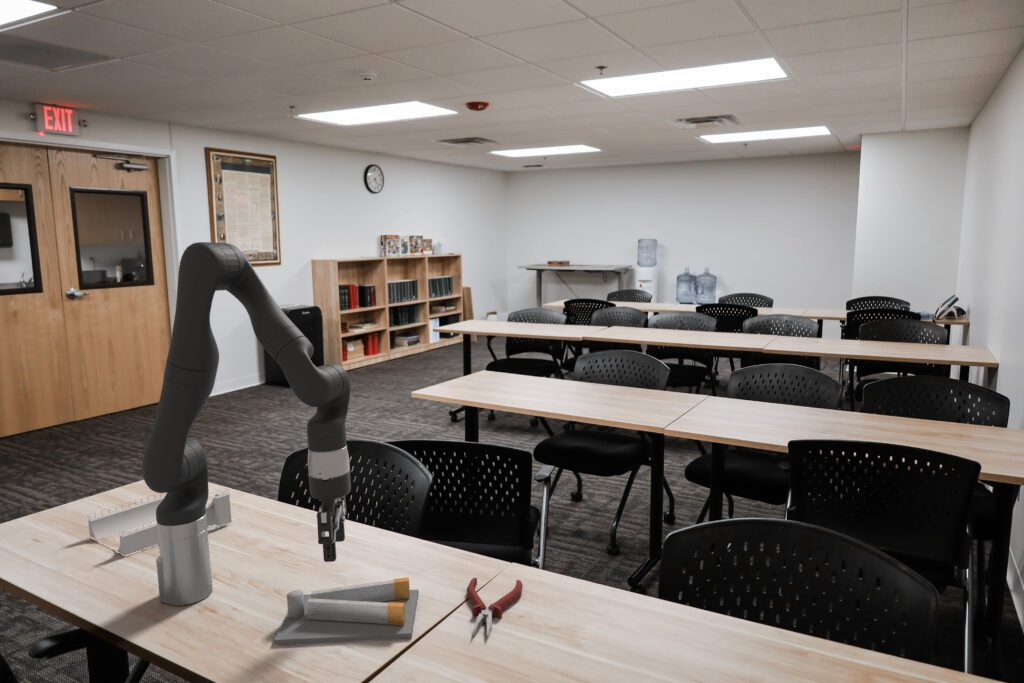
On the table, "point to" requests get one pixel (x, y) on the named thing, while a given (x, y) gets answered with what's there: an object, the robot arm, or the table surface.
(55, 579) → the table surface
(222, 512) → the skate ramp
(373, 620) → the leg
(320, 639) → the mat
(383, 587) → the leg
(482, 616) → the pliers
